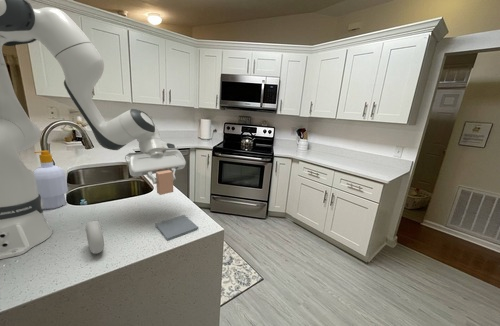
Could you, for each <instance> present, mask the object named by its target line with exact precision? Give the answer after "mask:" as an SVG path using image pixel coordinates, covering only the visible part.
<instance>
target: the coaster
mask: <svg viewBox="0 0 500 326" xmlns="http://www.w3.org/2000/svg"><path fill="white" fill-rule="evenodd" d="M154 226H155V228H156V229H157V230H158V232H160V234H161V235H162V236H163V238H164V239H165V240H166V241H167V242H168V241H171V240H174V239H176V238H179V237H182V236H184V235H187V234H191V233H192V232H196V231H198V230H199V226H197V224H196V223H194V222H193V221H192V220H191V219H190V218H189V217H187V216H186V215H185V214H182V215H179V216H175V217H172V218H168V219H166V220H163V221H159V222H156V223H154ZM197 229H198V230H197Z"/></svg>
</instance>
